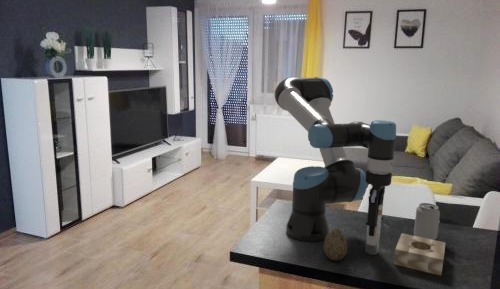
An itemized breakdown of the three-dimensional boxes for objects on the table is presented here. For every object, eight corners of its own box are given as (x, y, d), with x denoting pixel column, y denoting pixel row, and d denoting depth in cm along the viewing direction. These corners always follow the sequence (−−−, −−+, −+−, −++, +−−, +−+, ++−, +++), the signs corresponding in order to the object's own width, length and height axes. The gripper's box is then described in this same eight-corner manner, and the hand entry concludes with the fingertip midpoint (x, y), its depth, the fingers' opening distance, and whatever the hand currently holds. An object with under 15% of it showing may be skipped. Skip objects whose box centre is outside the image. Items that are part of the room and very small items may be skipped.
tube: (363, 252, 124) (367, 205, 121) (366, 247, 128) (370, 201, 125) (376, 256, 122) (381, 208, 119) (379, 250, 126) (383, 204, 123)
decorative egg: (346, 266, 116) (349, 235, 114) (322, 263, 117) (324, 232, 115) (346, 255, 123) (348, 225, 120) (323, 252, 124) (325, 223, 122)
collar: (393, 264, 118) (395, 248, 117) (400, 247, 129) (401, 233, 128) (441, 275, 112) (443, 259, 111) (443, 257, 123) (445, 242, 122)
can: (439, 243, 132) (443, 210, 130) (415, 241, 134) (419, 208, 131) (433, 234, 140) (437, 202, 137) (411, 232, 141) (415, 200, 139)
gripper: (387, 179, 111) (379, 255, 115) (396, 166, 125) (389, 234, 130) (360, 175, 114) (354, 249, 119) (372, 163, 129) (366, 229, 134)
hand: (372, 241), depth 124 cm, fingers closed on tube, 4 cm apart
